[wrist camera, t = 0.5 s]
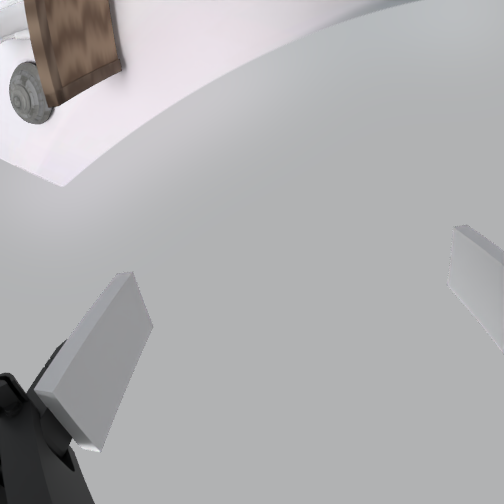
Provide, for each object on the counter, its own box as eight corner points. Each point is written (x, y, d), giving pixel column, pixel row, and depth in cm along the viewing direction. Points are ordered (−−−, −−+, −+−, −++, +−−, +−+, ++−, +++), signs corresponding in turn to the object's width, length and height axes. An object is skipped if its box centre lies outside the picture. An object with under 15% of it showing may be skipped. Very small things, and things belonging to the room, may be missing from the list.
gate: (93, -33, 26) (21, -19, 17) (105, -38, 25) (31, -26, 17) (110, 72, 40) (48, 107, 31) (121, 70, 39) (58, 106, 30)
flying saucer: (29, 46, 39) (8, 56, 36) (66, 93, 46) (46, 106, 43) (10, 89, 48) (-7, 100, 45) (42, 132, 55) (26, 145, 52)
